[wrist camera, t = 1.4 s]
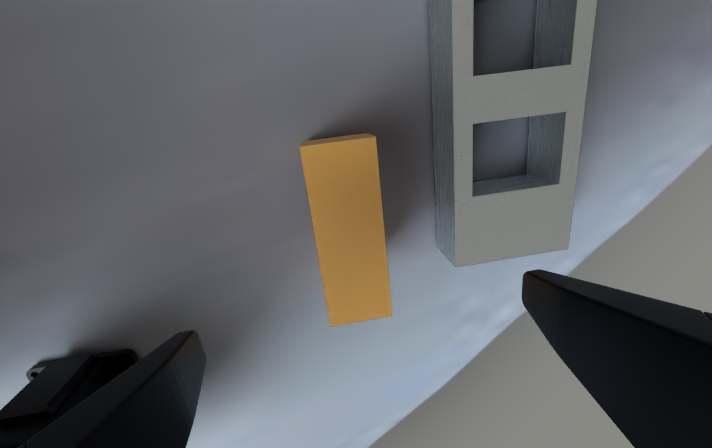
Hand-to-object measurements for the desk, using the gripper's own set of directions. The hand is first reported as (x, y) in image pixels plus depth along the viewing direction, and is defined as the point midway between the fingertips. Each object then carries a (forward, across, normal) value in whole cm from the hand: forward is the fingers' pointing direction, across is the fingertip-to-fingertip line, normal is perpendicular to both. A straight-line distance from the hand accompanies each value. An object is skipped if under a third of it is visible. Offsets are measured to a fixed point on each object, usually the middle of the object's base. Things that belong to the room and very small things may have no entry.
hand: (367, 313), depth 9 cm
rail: (+12, -10, -5) cm, 16 cm away
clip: (+12, 0, 0) cm, 12 cm away
